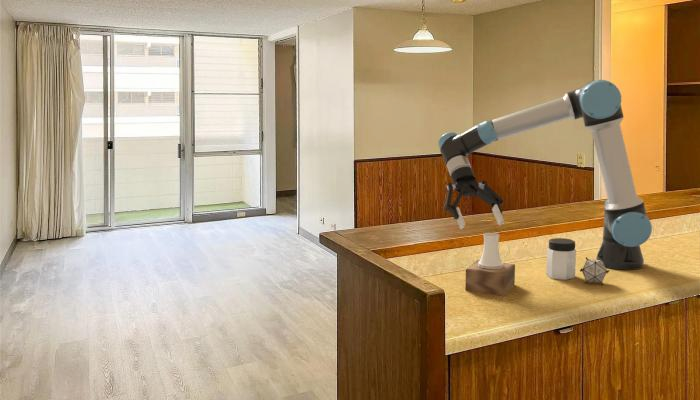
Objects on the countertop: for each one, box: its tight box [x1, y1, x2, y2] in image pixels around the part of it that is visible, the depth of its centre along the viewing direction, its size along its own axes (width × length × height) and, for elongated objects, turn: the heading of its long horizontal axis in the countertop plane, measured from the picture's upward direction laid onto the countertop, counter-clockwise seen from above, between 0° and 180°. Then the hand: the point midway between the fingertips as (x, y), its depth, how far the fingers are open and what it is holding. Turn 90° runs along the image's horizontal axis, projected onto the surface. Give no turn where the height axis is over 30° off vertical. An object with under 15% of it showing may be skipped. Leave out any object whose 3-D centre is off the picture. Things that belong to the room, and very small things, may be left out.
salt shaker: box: [478, 232, 504, 269], centre depth 184 cm, size 8×8×10 cm
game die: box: [579, 256, 610, 286], centre depth 188 cm, size 9×8×10 cm
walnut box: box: [464, 259, 516, 297], centre depth 185 cm, size 12×12×7 cm
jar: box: [545, 237, 577, 281], centre depth 195 cm, size 9×8×12 cm
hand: (482, 225), depth 188 cm, fingers open, 13 cm apart
